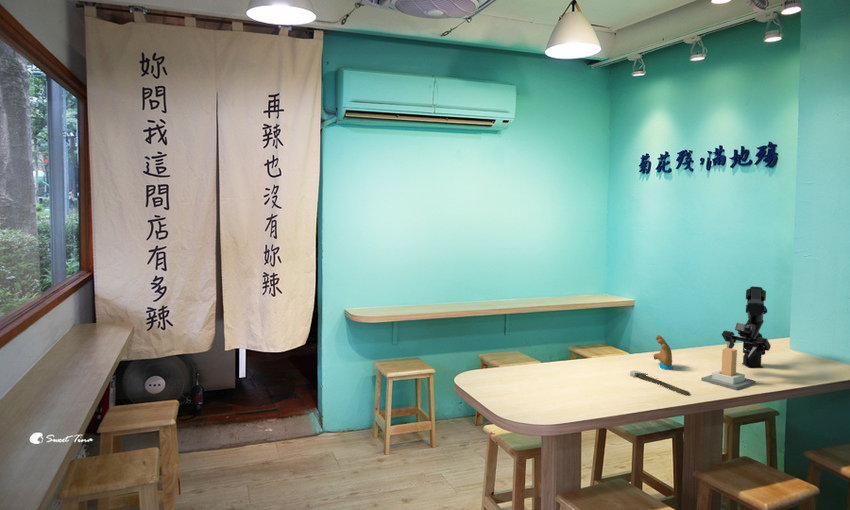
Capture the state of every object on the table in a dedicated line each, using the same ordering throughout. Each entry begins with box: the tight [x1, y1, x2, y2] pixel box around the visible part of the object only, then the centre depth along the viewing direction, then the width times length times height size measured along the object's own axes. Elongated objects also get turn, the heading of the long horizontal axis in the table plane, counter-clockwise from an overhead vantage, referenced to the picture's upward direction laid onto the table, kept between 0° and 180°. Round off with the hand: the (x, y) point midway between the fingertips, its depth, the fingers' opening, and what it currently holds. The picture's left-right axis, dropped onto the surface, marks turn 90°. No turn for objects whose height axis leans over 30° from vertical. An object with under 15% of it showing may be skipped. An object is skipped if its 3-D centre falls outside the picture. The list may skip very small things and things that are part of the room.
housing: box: [700, 369, 756, 391], centre depth 243 cm, size 15×15×4 cm
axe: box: [629, 370, 691, 396], centre depth 241 cm, size 11×3×30 cm
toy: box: [653, 334, 673, 371], centre depth 265 cm, size 12×7×15 cm, turn 168°
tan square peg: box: [721, 347, 738, 377], centre depth 242 cm, size 4×4×13 cm
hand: (737, 355), depth 246 cm, fingers open, 9 cm apart
